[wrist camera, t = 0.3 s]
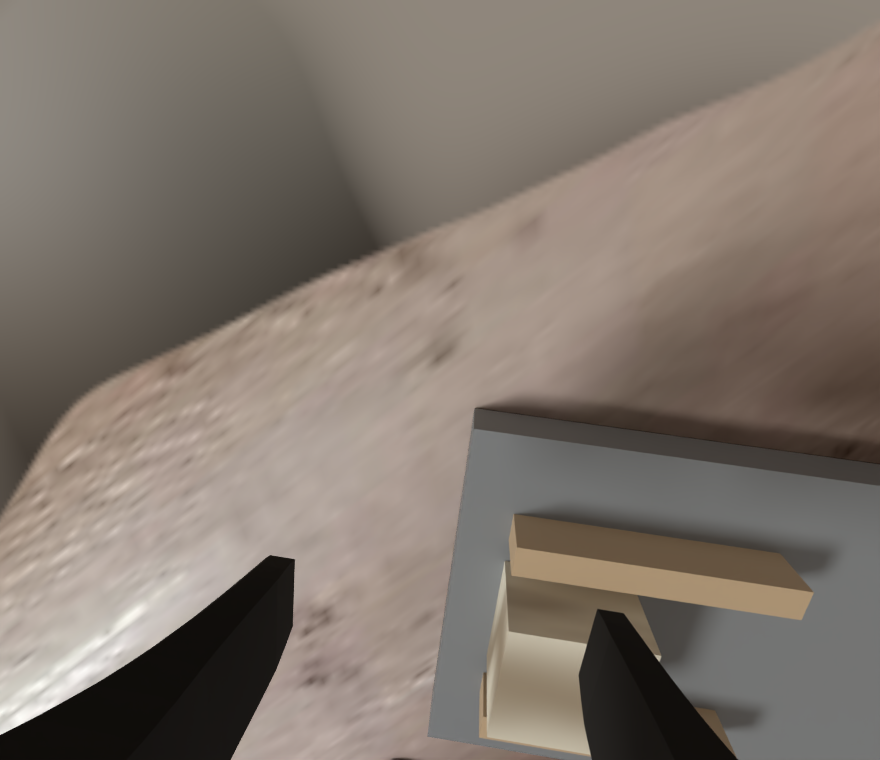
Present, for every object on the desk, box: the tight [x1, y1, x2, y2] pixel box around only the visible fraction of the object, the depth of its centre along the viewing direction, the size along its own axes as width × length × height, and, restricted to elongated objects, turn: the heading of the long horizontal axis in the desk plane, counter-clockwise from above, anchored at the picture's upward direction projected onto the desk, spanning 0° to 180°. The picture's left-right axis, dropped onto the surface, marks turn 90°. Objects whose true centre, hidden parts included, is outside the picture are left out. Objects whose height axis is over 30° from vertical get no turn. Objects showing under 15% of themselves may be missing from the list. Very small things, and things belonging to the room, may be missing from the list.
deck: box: [428, 408, 880, 760], centre depth 20 cm, size 16×33×4 cm, turn 83°
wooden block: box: [487, 561, 661, 755], centre depth 18 cm, size 5×5×4 cm
